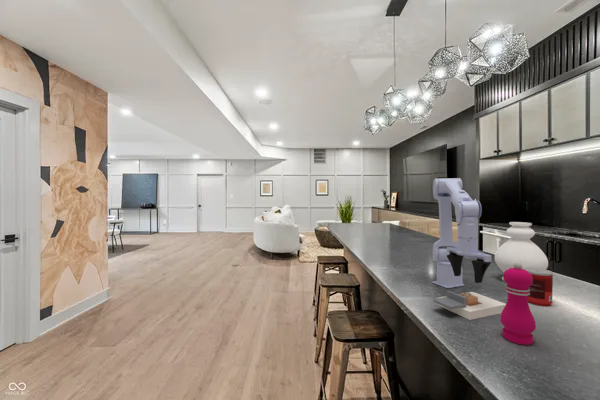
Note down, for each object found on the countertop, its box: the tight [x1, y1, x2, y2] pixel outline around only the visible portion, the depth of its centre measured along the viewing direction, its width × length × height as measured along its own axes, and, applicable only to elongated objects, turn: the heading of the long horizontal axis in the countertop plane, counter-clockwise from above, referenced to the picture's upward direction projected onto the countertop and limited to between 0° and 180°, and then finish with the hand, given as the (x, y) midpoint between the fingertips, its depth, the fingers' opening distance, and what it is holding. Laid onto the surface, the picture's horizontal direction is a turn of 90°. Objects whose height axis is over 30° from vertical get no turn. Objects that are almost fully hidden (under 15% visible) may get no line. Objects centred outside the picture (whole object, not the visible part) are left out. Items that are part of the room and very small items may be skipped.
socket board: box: [437, 291, 506, 321], centre depth 91 cm, size 16×12×2 cm
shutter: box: [432, 290, 467, 310], centre depth 88 cm, size 7×7×3 cm
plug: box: [458, 292, 478, 306], centre depth 90 cm, size 4×4×5 cm
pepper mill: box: [499, 262, 537, 346], centre depth 72 cm, size 7×7×20 cm
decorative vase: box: [494, 221, 549, 282], centre depth 117 cm, size 18×18×25 cm
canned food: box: [524, 268, 554, 307], centre depth 95 cm, size 8×8×11 cm
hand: (467, 279), depth 90 cm, fingers open, 7 cm apart
